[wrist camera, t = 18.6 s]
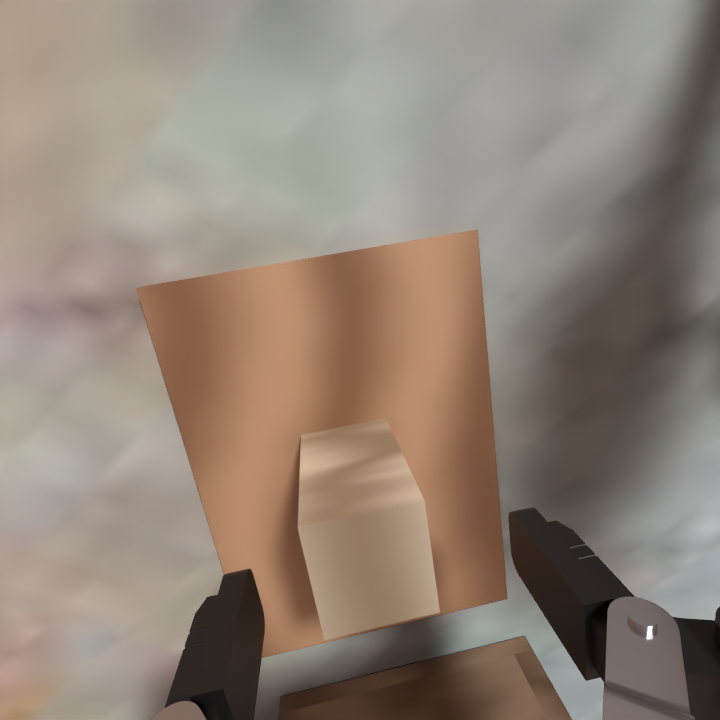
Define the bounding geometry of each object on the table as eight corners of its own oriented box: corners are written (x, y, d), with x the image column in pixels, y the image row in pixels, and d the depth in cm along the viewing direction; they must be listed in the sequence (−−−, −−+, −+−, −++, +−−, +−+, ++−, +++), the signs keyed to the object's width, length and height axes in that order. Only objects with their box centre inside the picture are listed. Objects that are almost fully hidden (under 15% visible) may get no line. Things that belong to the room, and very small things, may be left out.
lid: (467, 230, 17) (574, 218, 10) (498, 583, 22) (584, 733, 15) (146, 285, 16) (28, 312, 9) (253, 641, 21) (227, 828, 14)
